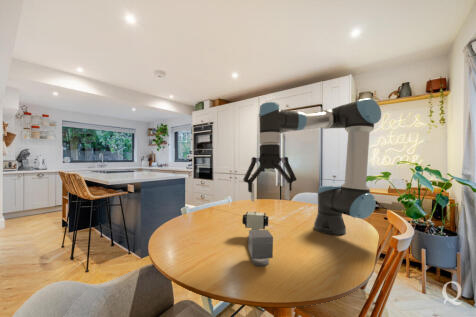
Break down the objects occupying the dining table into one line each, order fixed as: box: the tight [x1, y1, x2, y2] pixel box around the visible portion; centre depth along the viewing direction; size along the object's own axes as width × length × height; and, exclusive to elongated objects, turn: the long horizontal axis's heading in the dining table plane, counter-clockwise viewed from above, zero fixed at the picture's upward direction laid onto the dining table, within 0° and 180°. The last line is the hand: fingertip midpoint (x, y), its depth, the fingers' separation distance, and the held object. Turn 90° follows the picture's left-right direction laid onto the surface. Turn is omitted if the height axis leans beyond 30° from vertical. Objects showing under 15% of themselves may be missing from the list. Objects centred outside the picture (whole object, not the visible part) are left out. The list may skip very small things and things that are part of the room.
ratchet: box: [247, 236, 270, 268], centre depth 77 cm, size 6×20×7 cm, turn 7°
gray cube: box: [248, 229, 274, 260], centre depth 70 cm, size 7×7×7 cm
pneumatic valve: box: [241, 210, 269, 230], centre depth 93 cm, size 6×12×12 cm, turn 78°
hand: (270, 200), depth 76 cm, fingers open, 13 cm apart
